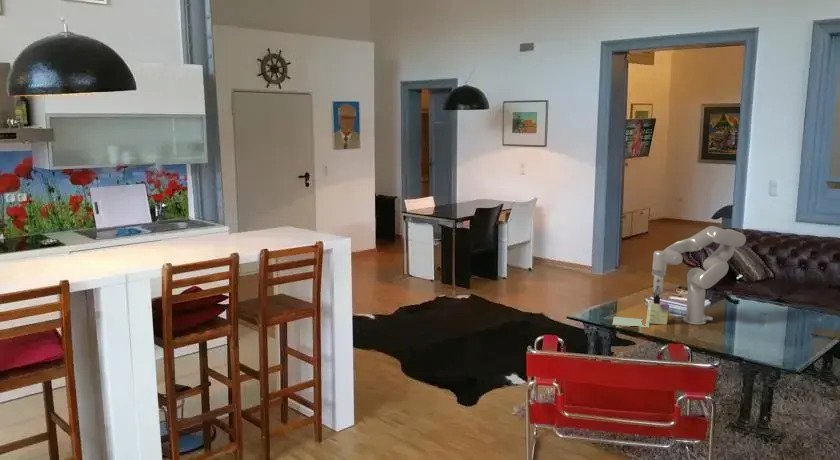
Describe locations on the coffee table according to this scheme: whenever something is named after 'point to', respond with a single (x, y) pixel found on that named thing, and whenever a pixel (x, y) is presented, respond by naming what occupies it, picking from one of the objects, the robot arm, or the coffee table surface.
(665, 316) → the box
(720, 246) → the robot arm
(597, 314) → the coffee table surface
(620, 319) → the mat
